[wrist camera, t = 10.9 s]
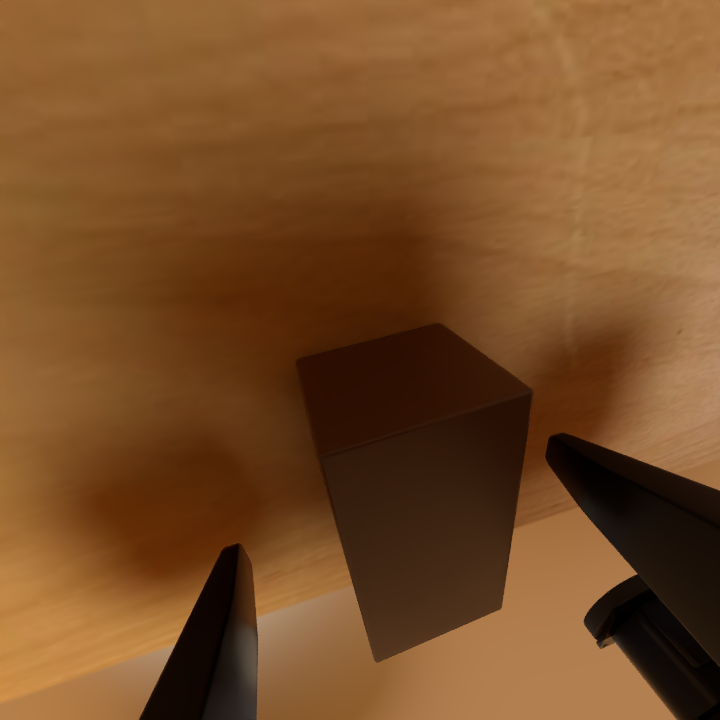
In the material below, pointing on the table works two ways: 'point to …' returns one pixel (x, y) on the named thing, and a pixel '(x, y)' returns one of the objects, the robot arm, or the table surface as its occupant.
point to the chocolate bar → (419, 477)
